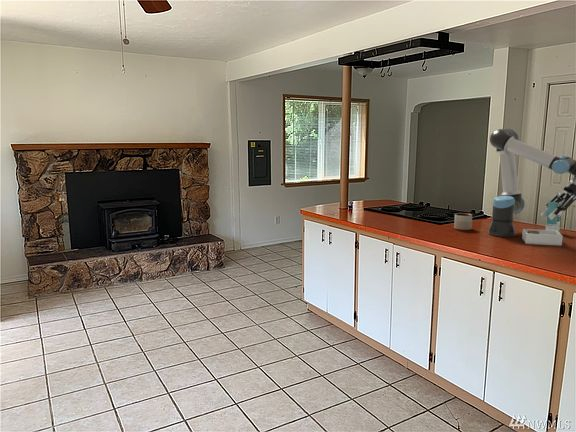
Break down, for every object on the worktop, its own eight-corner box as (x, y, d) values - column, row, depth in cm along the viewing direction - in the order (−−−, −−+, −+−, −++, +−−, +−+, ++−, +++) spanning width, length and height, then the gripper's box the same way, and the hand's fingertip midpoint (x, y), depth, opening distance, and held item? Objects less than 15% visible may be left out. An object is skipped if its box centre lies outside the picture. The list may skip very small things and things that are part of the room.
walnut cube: (528, 240, 246) (529, 232, 245) (527, 238, 251) (528, 230, 250) (538, 241, 245) (539, 232, 244) (537, 239, 249) (538, 230, 248)
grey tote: (525, 243, 243) (526, 233, 242) (522, 238, 256) (522, 228, 255) (561, 245, 237) (562, 235, 236) (556, 240, 250) (557, 230, 249)
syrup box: (552, 234, 265) (555, 210, 262) (544, 232, 270) (546, 209, 268) (560, 233, 266) (562, 210, 264) (552, 231, 272) (554, 208, 269)
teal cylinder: (547, 224, 241) (549, 203, 239) (545, 222, 246) (547, 201, 244) (557, 224, 240) (559, 203, 238) (555, 222, 244) (557, 202, 242)
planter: (467, 226, 291) (468, 212, 289) (474, 230, 280) (475, 215, 279) (451, 227, 291) (452, 213, 289) (458, 230, 280) (458, 216, 278)
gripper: (591, 193, 234) (562, 224, 234) (565, 189, 251) (538, 218, 251) (584, 183, 232) (554, 215, 232) (558, 180, 249) (530, 210, 249)
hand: (546, 217), depth 242 cm, fingers closed on teal cylinder, 5 cm apart
